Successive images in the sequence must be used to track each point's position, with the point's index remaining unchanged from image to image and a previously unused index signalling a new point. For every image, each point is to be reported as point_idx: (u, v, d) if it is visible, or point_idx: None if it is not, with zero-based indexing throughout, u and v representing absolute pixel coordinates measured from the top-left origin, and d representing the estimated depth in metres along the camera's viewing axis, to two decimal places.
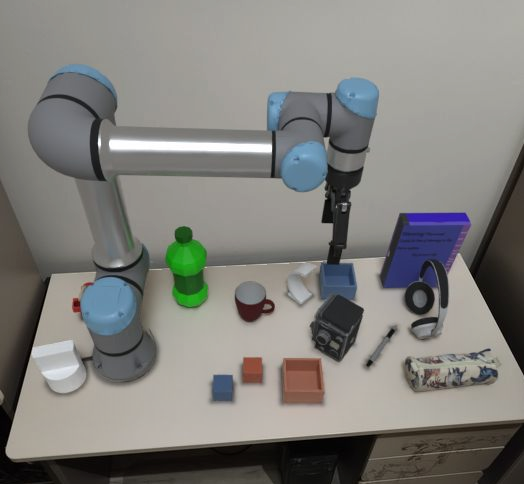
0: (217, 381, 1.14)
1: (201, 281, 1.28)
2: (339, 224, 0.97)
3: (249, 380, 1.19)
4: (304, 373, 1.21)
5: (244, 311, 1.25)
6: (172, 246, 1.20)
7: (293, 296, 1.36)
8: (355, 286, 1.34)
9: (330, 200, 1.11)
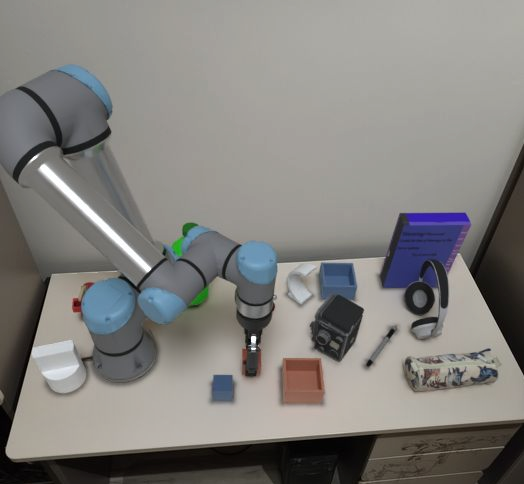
0: (217, 381, 1.14)
1: None
2: (250, 359, 1.05)
3: None
4: (304, 373, 1.21)
5: None
6: (178, 242, 1.21)
7: (293, 296, 1.36)
8: (355, 286, 1.34)
9: None
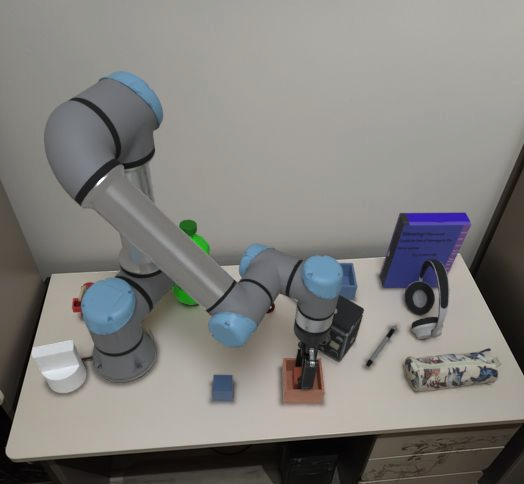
0: (217, 381, 1.14)
1: None
2: (307, 374, 1.03)
3: None
4: None
5: None
6: None
7: None
8: (355, 286, 1.34)
9: None
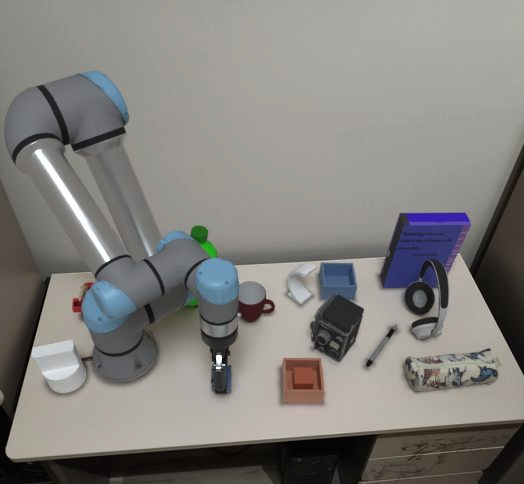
0: None
1: None
2: (216, 377, 1.01)
3: None
4: None
5: (244, 311, 1.25)
6: None
7: (293, 296, 1.36)
8: (355, 286, 1.34)
9: None
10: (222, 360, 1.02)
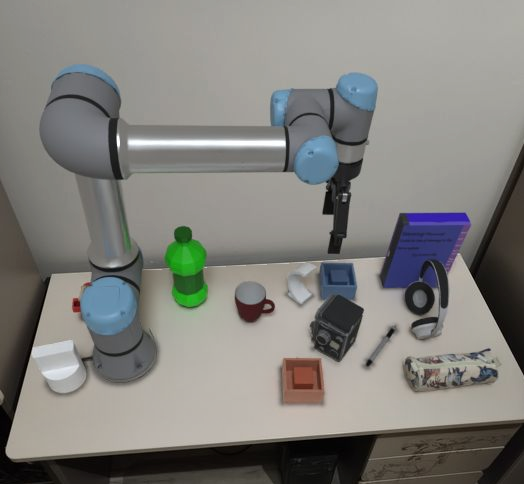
0: (334, 274, 1.37)
1: (200, 281, 1.28)
2: (340, 214, 1.01)
3: None
4: None
5: (244, 311, 1.25)
6: (172, 246, 1.20)
7: (293, 296, 1.36)
8: (355, 286, 1.34)
9: (331, 192, 1.15)
10: None
